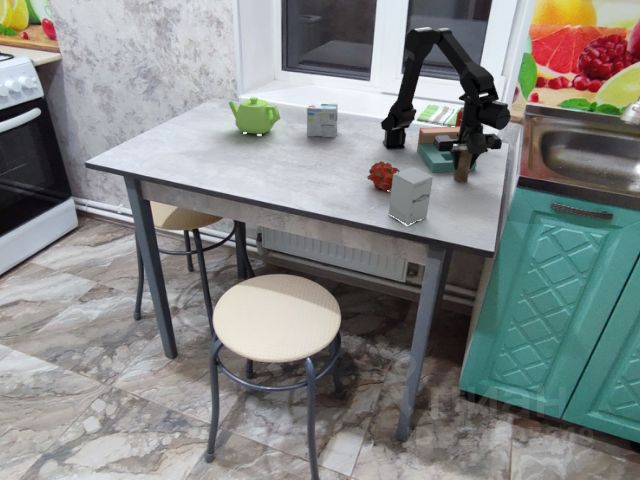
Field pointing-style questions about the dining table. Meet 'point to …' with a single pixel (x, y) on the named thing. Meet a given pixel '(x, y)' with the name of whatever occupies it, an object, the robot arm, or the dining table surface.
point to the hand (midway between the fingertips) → (462, 169)
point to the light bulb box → (322, 119)
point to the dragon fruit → (382, 175)
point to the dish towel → (439, 115)
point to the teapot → (255, 115)
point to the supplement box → (410, 195)
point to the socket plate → (430, 153)
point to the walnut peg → (463, 165)
